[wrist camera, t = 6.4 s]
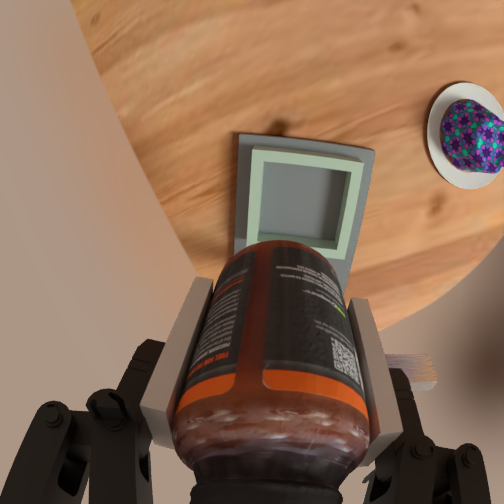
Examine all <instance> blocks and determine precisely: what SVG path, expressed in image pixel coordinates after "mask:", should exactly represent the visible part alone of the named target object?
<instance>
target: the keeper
mask: <svg viewBox="0 0 504 504" xmlns="http://www.w3.org/2000/svg"><path fill="white" fill-rule="evenodd" d="M384 355H385V354H384ZM385 358H386V362H387V366H388V368H401V369H402V370H403V372H404V373H405V374H406V376H407V377H408V379H409V382H410V385H411V391H423V390H432V388H433V387H434V386H435V384H436V383H437V381H438V380H437V377H436V375H435V372H434V369H433V366H432V363H431V361H430V358H429V356H428V355H385Z"/></svg>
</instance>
